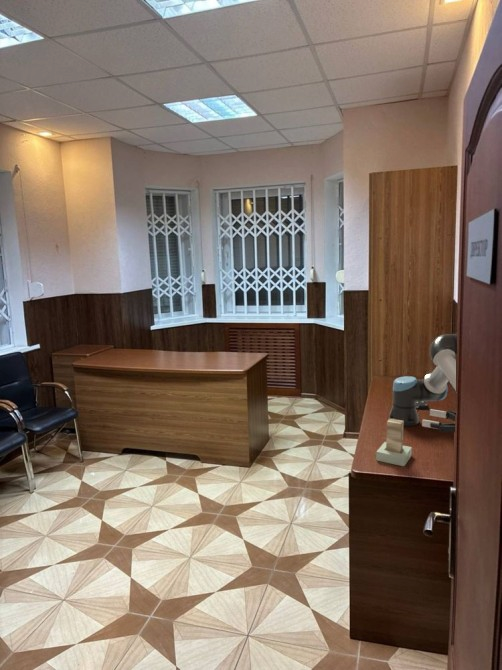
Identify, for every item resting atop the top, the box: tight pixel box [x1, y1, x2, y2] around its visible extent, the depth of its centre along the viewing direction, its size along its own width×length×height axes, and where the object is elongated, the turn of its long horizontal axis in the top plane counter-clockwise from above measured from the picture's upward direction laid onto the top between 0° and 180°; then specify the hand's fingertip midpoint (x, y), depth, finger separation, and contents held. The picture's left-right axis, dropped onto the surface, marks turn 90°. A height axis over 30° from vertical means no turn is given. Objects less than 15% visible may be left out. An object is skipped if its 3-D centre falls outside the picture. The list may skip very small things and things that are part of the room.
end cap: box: [375, 441, 413, 467], centre depth 205 cm, size 12×12×4 cm
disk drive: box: [416, 401, 430, 410], centre depth 272 cm, size 10×3×15 cm
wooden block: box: [385, 418, 404, 453], centre depth 204 cm, size 4×6×16 cm, turn 57°
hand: (426, 417), depth 198 cm, fingers open, 13 cm apart
